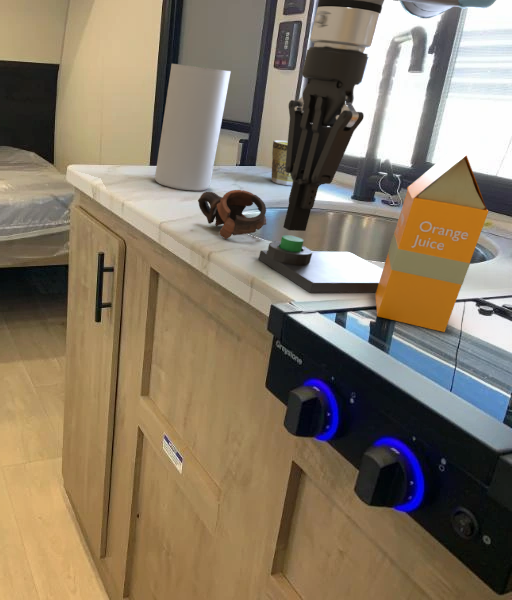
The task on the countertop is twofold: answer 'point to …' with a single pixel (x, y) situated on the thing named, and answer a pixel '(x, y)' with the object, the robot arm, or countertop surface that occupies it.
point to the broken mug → (232, 212)
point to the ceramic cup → (280, 163)
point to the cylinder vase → (191, 127)
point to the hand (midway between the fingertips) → (294, 228)
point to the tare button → (291, 243)
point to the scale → (323, 269)
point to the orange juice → (432, 245)
